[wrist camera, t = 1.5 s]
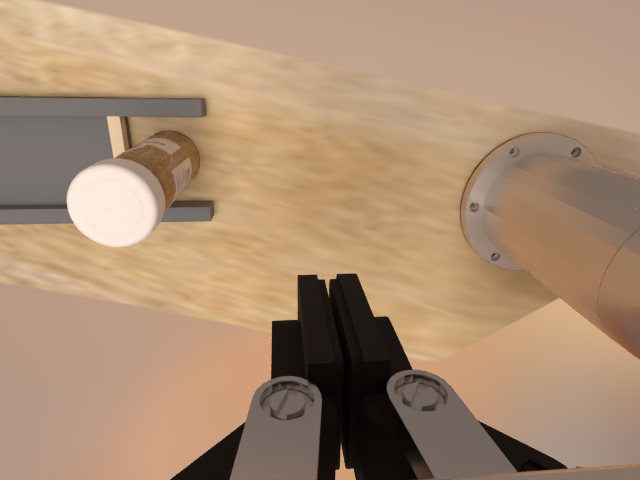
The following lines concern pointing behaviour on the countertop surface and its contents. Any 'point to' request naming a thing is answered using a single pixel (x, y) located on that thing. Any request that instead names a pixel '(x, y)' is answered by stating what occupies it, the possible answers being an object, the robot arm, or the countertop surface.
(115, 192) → the sprinkles bottle
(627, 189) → the robot arm
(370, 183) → the countertop surface
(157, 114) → the tray
